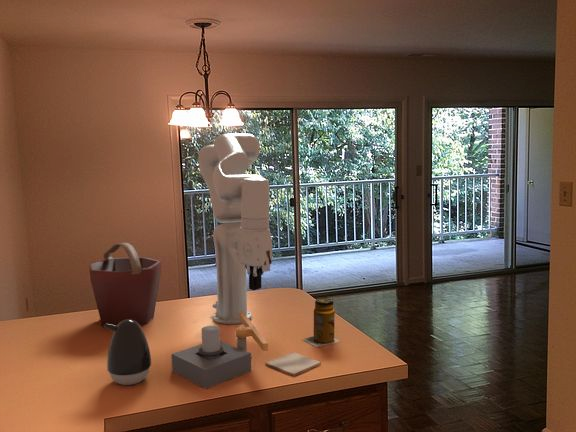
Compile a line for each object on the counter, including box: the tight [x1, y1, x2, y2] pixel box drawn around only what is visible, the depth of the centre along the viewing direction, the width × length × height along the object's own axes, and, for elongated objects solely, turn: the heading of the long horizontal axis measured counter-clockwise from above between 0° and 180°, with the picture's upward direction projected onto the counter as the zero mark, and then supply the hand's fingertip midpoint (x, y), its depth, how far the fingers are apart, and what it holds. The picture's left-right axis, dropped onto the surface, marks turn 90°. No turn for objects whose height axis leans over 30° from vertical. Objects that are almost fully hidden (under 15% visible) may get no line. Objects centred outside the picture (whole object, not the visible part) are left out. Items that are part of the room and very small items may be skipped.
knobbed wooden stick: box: [235, 312, 269, 352], centre depth 140 cm, size 5×26×2 cm, turn 18°
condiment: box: [302, 297, 341, 348], centre depth 153 cm, size 7×8×12 cm
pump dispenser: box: [104, 319, 152, 386], centre depth 127 cm, size 10×10×15 cm
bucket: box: [88, 242, 162, 328], centre depth 172 cm, size 24×22×25 cm
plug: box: [199, 325, 223, 360], centre depth 132 cm, size 6×6×11 cm
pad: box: [265, 351, 322, 377], centre depth 137 cm, size 10×10×1 cm
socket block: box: [171, 337, 252, 390], centre depth 134 cm, size 14×20×6 cm
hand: (255, 288), depth 146 cm, fingers closed
